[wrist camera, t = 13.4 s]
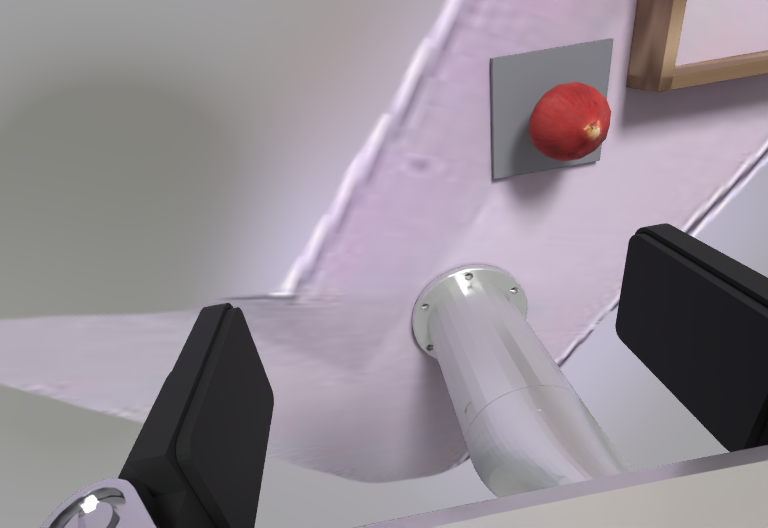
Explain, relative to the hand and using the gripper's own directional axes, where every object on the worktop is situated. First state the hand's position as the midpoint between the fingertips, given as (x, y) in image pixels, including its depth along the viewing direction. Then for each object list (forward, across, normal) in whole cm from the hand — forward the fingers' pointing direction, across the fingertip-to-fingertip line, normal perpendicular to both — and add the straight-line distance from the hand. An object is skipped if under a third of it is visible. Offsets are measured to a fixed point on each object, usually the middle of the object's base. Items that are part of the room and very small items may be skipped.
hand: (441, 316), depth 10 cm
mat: (+28, -16, +2) cm, 33 cm away
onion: (+28, -16, +2) cm, 32 cm away
